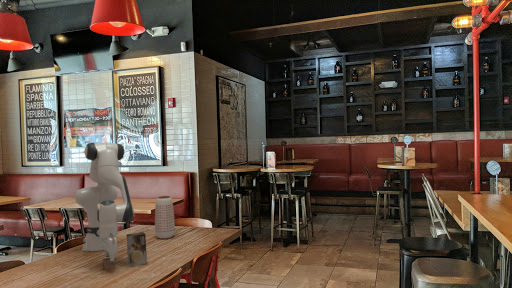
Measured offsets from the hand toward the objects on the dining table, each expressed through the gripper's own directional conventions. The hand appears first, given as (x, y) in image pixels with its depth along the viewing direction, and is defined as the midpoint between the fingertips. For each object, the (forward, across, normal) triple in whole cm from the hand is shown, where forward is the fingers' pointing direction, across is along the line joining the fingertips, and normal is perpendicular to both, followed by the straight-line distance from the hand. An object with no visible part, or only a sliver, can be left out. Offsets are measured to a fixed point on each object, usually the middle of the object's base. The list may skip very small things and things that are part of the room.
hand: (109, 258), depth 192 cm
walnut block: (+5, +1, 0) cm, 5 cm away
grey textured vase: (+5, +44, -47) cm, 65 cm away
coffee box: (+5, -2, -14) cm, 15 cm away
